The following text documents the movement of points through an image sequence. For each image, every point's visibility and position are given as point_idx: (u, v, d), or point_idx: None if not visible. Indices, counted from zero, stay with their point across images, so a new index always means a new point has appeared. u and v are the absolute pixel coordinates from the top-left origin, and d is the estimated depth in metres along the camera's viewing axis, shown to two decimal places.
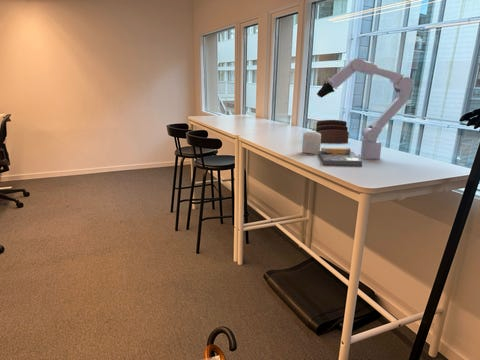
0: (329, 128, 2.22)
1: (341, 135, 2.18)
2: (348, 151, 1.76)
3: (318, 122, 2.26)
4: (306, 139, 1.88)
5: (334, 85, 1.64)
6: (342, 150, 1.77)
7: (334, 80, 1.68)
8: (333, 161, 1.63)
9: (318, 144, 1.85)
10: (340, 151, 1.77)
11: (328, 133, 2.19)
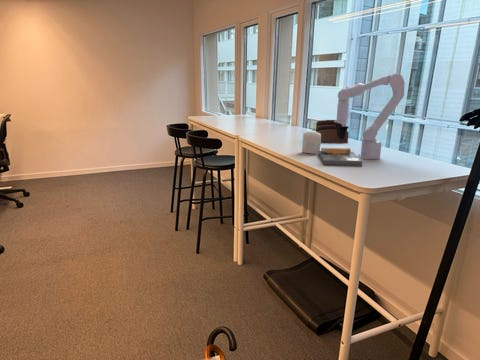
0: (329, 128, 2.22)
1: None
2: (348, 151, 1.76)
3: (318, 122, 2.26)
4: (306, 139, 1.88)
5: (344, 124, 1.74)
6: (342, 150, 1.77)
7: (340, 119, 1.78)
8: (333, 161, 1.63)
9: (318, 144, 1.85)
10: (340, 151, 1.77)
11: (328, 133, 2.19)
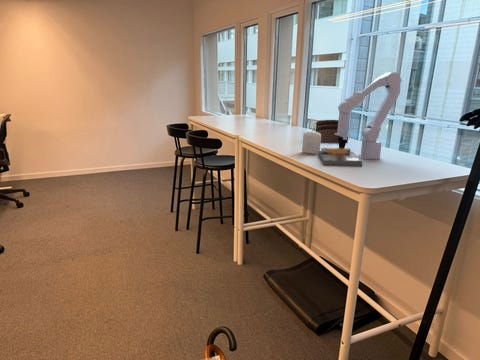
0: (329, 128, 2.23)
1: None
2: (348, 151, 1.76)
3: (318, 122, 2.26)
4: (306, 139, 1.88)
5: (345, 137, 1.70)
6: (342, 150, 1.76)
7: (341, 132, 1.74)
8: (333, 161, 1.63)
9: (318, 144, 1.85)
10: (340, 151, 1.77)
11: (327, 133, 2.19)
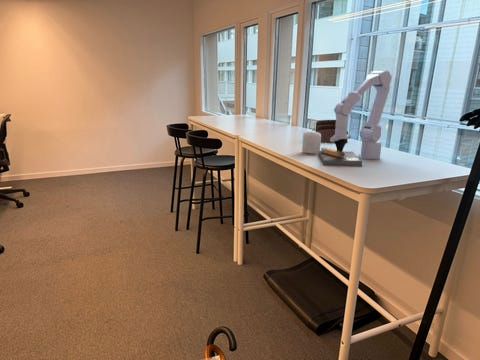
0: (329, 128, 2.23)
1: None
2: (338, 155, 1.68)
3: (318, 122, 2.27)
4: (306, 139, 1.88)
5: (332, 139, 1.66)
6: (334, 153, 1.71)
7: (335, 134, 1.69)
8: (333, 161, 1.63)
9: (318, 144, 1.85)
10: (333, 153, 1.72)
11: (327, 133, 2.20)
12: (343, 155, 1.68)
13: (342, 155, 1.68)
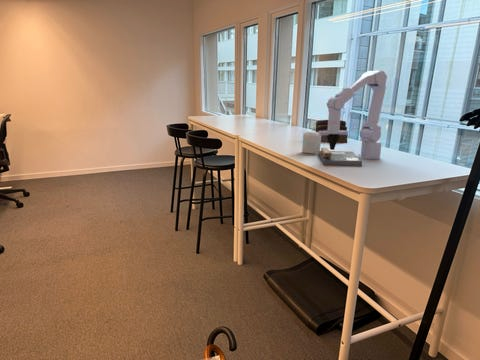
0: None
1: (340, 135, 2.19)
2: (324, 155, 1.68)
3: (317, 122, 2.27)
4: (306, 139, 1.88)
5: (319, 133, 1.66)
6: (323, 153, 1.71)
7: None
8: (333, 161, 1.63)
9: (318, 144, 1.85)
10: (323, 153, 1.72)
11: None
12: (329, 156, 1.67)
13: (328, 156, 1.67)
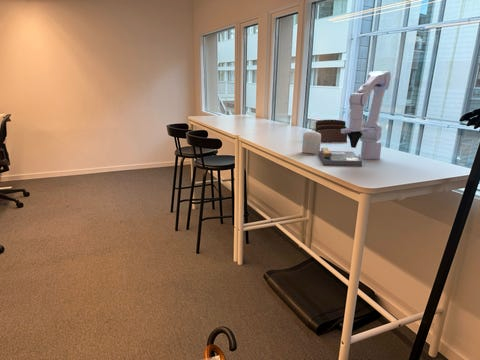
0: (328, 128, 2.24)
1: (340, 135, 2.20)
2: (324, 155, 1.68)
3: (317, 122, 2.28)
4: (306, 139, 1.88)
5: (342, 131, 1.58)
6: (323, 153, 1.71)
7: (349, 126, 1.61)
8: (333, 161, 1.63)
9: (318, 144, 1.85)
10: (323, 153, 1.72)
11: (327, 132, 2.20)
12: (329, 156, 1.67)
13: (328, 156, 1.67)
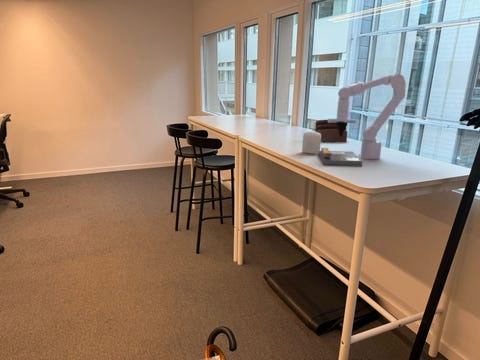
0: (328, 128, 2.24)
1: None
2: (324, 155, 1.68)
3: (317, 122, 2.28)
4: (306, 139, 1.88)
5: (328, 120, 1.81)
6: (323, 153, 1.71)
7: None
8: (333, 161, 1.63)
9: (318, 144, 1.85)
10: (323, 153, 1.72)
11: (327, 132, 2.21)
12: (329, 156, 1.67)
13: (328, 156, 1.67)
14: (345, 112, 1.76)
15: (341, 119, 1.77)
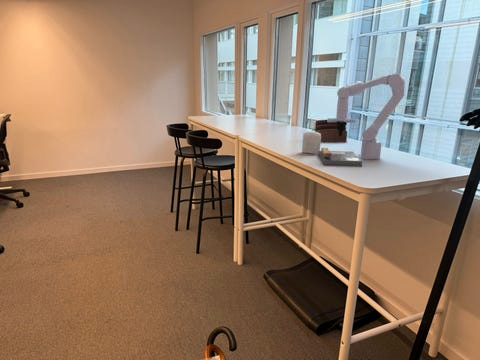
0: (328, 128, 2.24)
1: None
2: (324, 155, 1.68)
3: (317, 122, 2.28)
4: (306, 139, 1.88)
5: (327, 120, 1.82)
6: (323, 153, 1.71)
7: None
8: (333, 161, 1.63)
9: (318, 144, 1.85)
10: (323, 153, 1.72)
11: (326, 132, 2.21)
12: (329, 156, 1.67)
13: (328, 156, 1.67)
14: (344, 112, 1.77)
15: (340, 119, 1.79)
